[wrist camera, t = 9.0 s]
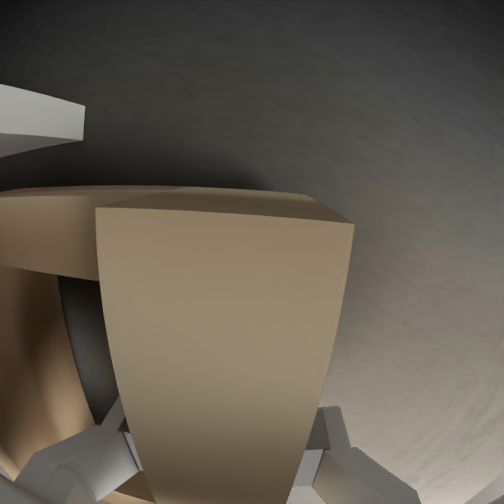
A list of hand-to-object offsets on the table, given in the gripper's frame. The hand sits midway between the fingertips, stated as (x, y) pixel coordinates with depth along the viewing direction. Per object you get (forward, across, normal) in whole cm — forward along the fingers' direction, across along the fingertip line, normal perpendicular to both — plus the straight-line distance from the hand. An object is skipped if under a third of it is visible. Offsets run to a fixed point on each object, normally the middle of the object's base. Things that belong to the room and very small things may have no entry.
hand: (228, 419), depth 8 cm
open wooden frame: (+2, +3, 0) cm, 4 cm away
